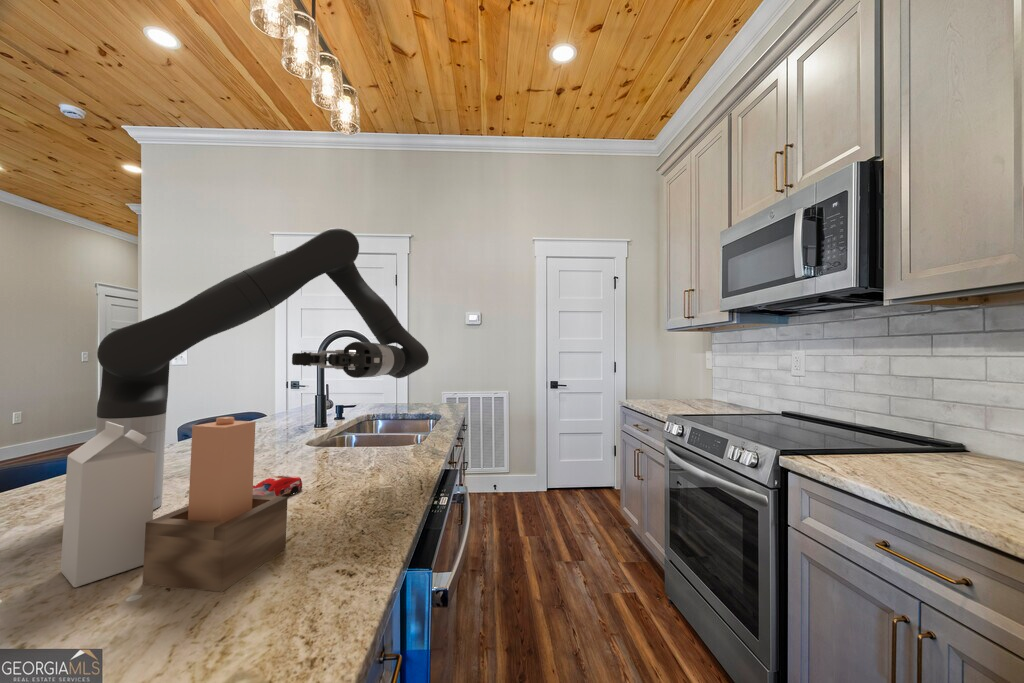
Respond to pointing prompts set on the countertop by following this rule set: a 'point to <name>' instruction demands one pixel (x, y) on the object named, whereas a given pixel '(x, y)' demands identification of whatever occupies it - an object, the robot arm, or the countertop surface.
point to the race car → (278, 486)
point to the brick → (221, 470)
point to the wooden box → (213, 546)
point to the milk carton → (107, 505)
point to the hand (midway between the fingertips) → (313, 359)
